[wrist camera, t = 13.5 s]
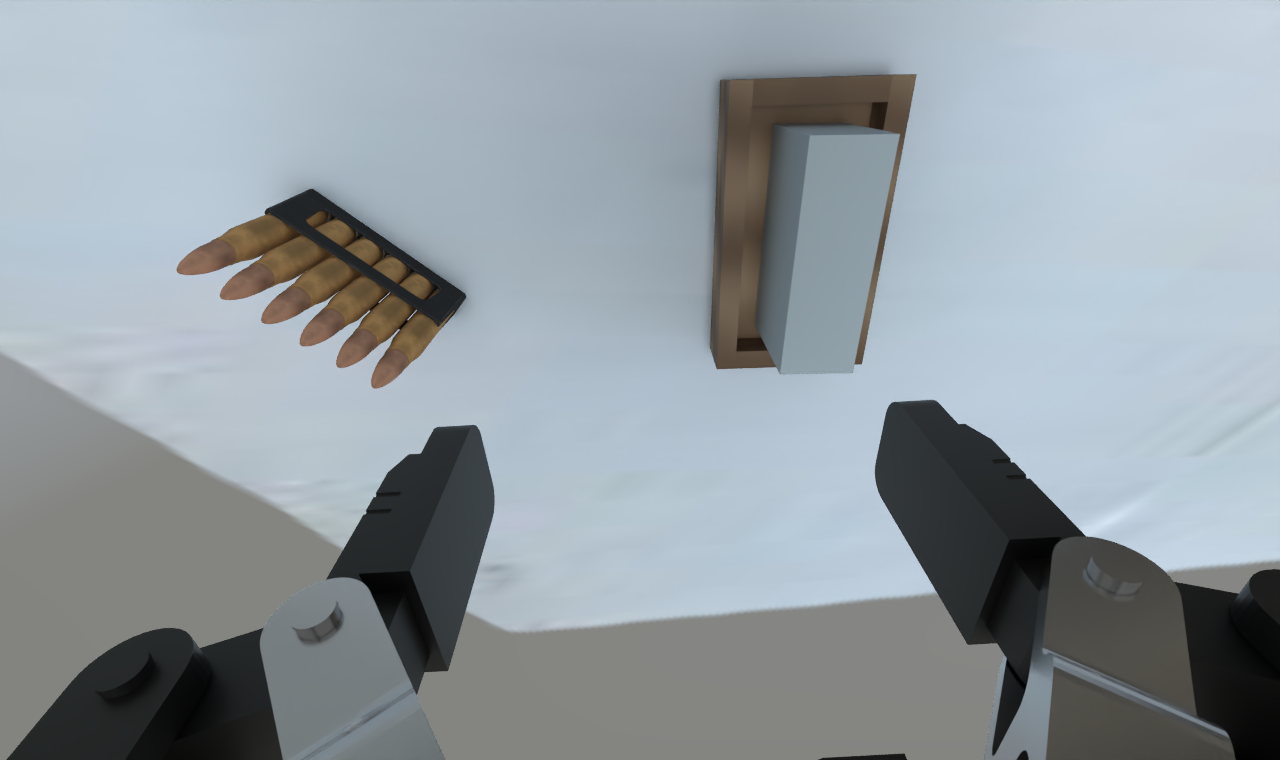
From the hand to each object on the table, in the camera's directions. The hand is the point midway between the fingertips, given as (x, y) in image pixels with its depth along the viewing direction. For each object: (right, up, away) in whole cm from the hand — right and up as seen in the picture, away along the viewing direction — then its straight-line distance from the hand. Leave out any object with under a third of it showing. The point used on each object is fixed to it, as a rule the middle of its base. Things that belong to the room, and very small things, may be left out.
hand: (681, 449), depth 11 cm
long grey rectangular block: (+9, +10, +22) cm, 26 cm away
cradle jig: (+9, +11, +23) cm, 27 cm away
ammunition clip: (-17, +9, +24) cm, 31 cm away
